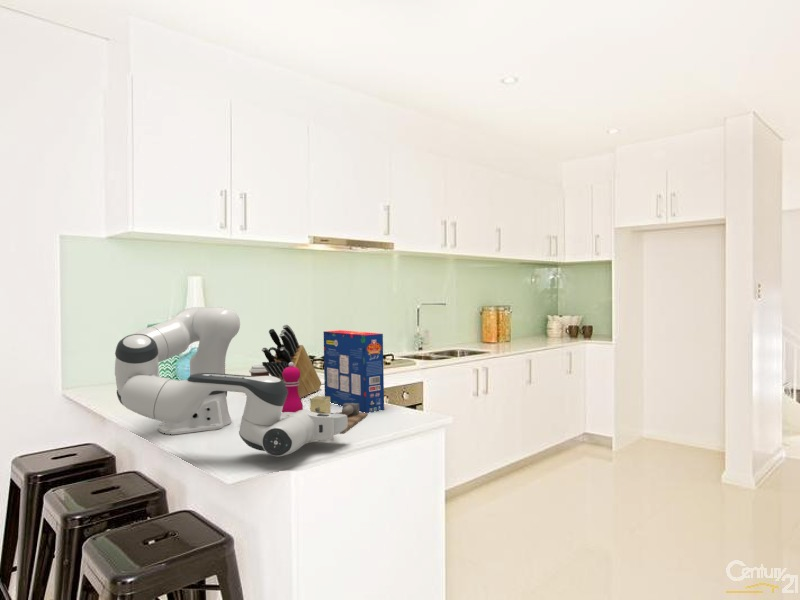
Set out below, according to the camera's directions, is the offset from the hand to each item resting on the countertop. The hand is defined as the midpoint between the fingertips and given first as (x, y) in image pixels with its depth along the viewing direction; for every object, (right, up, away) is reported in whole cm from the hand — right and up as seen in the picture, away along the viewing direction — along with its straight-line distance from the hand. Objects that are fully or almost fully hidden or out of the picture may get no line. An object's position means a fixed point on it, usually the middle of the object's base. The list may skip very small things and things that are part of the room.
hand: (321, 415), depth 162 cm
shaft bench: (+4, -6, +17) cm, 18 cm away
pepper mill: (-13, -7, +21) cm, 26 cm away
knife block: (-21, -6, +64) cm, 68 cm away
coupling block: (0, -7, -1) cm, 7 cm away
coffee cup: (-37, -6, +73) cm, 82 cm away
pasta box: (+6, -6, +44) cm, 45 cm away
